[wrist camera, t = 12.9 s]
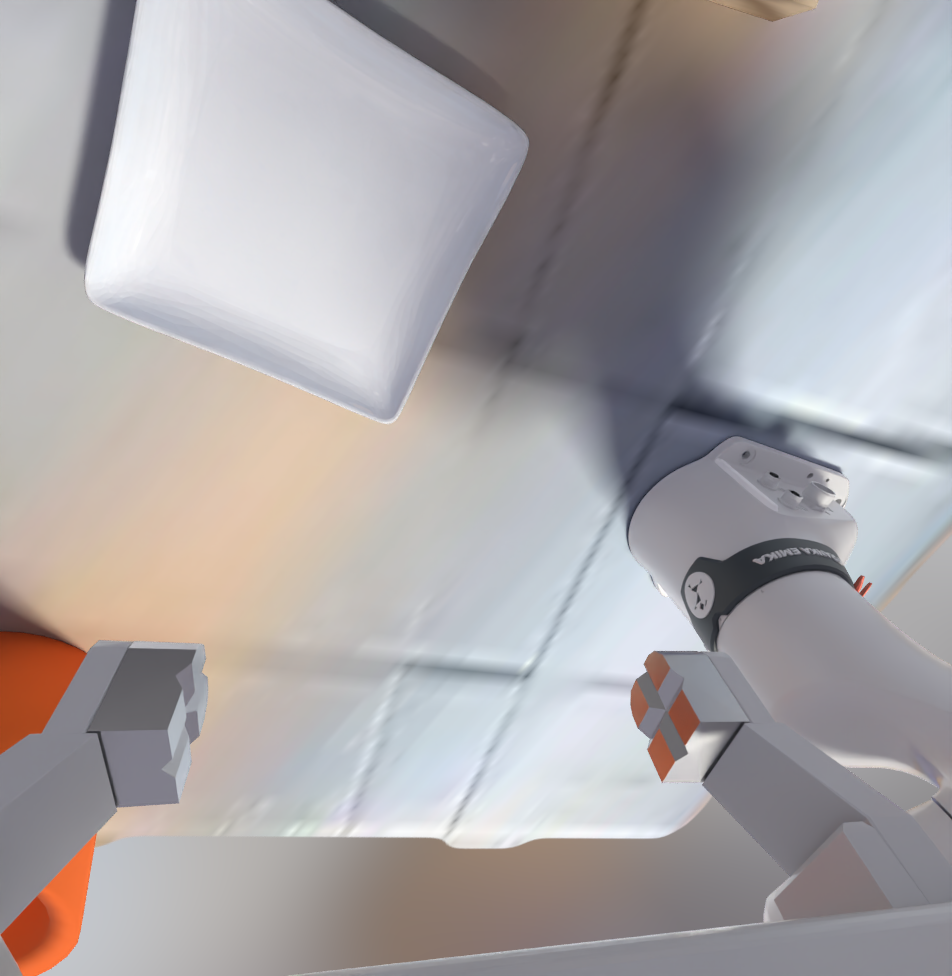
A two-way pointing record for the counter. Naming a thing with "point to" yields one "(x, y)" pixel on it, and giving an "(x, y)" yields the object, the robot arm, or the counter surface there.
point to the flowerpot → (4, 722)
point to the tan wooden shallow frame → (770, 7)
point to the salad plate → (294, 194)
